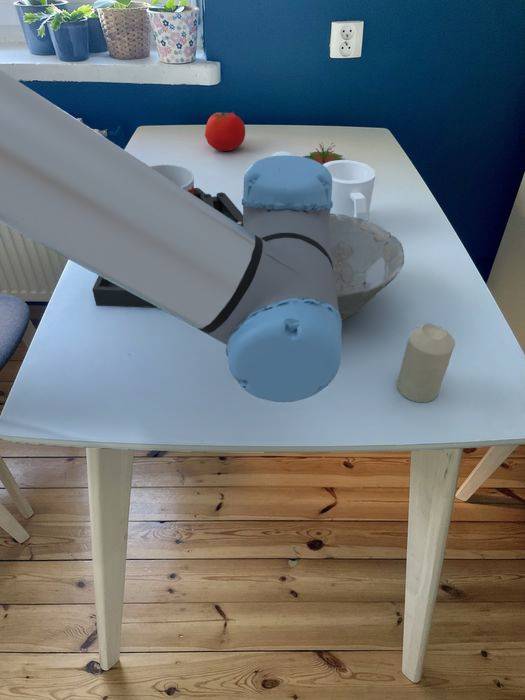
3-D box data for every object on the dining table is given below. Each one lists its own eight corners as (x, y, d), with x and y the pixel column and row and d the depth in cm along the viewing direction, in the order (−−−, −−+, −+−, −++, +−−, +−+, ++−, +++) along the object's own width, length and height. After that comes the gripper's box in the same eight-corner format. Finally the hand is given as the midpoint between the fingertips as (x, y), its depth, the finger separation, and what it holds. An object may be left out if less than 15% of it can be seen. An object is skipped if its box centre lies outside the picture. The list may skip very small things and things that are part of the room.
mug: (383, 241, 100) (394, 187, 93) (333, 249, 98) (339, 194, 91) (353, 208, 110) (360, 157, 103) (306, 215, 108) (311, 163, 100)
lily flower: (288, 159, 128) (289, 140, 125) (328, 149, 133) (330, 130, 130) (319, 178, 120) (321, 158, 117) (360, 166, 125) (363, 147, 122)
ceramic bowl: (233, 335, 80) (232, 279, 73) (272, 255, 96) (274, 204, 89) (384, 364, 75) (397, 308, 69) (398, 275, 92) (409, 223, 85)
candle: (441, 380, 73) (461, 323, 67) (434, 408, 69) (453, 350, 63) (402, 368, 75) (416, 311, 68) (392, 395, 71) (407, 337, 64)
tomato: (252, 146, 134) (252, 110, 128) (228, 159, 127) (227, 123, 122) (221, 138, 137) (220, 103, 132) (197, 151, 131) (194, 115, 125)
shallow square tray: (95, 305, 84) (92, 289, 82) (115, 260, 94) (112, 244, 92) (179, 308, 84) (177, 292, 82) (190, 262, 94) (189, 247, 92)
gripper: (152, 326, 59) (83, 235, 73) (304, 272, 67) (216, 199, 81) (143, 268, 54) (71, 182, 68) (309, 218, 62) (214, 150, 76)
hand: (150, 192), depth 75 cm, fingers closed on cup, 8 cm apart
